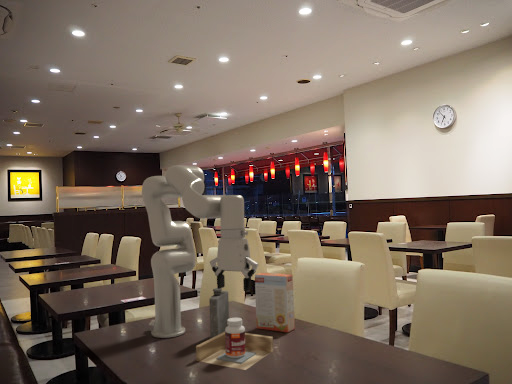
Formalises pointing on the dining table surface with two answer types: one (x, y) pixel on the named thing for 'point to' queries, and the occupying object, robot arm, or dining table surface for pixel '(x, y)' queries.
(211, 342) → the wooden corner stand
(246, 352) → the slate pad
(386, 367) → the dining table surface
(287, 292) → the cracker box
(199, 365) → the dining table surface
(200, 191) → the robot arm
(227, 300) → the flask
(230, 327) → the pill bottle
